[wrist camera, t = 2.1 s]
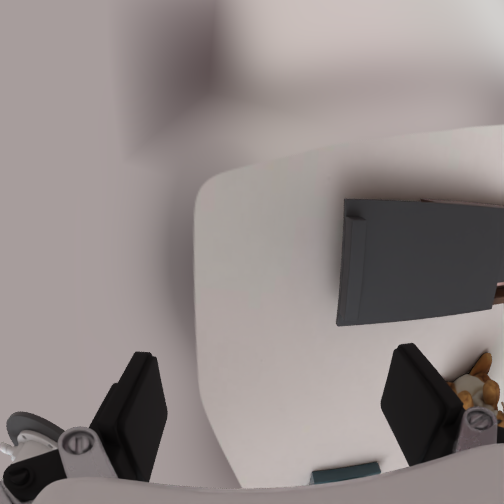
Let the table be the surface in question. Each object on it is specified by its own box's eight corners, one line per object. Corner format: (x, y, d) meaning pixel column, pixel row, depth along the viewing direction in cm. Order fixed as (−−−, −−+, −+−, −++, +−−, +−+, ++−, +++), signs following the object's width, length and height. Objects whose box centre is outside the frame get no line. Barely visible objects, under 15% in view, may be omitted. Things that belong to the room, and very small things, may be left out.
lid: (335, 323, 26) (342, 335, 24) (344, 198, 24) (352, 201, 21) (488, 307, 26) (500, 315, 24) (504, 208, 24) (518, 211, 22)
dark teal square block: (306, 496, 38) (309, 515, 34) (312, 471, 36) (316, 492, 32) (365, 487, 38) (371, 505, 35) (377, 461, 36) (384, 480, 33)
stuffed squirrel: (489, 345, 32) (546, 398, 19) (474, 414, 35) (513, 467, 22) (429, 373, 32) (482, 443, 19) (422, 440, 36) (455, 502, 23)
